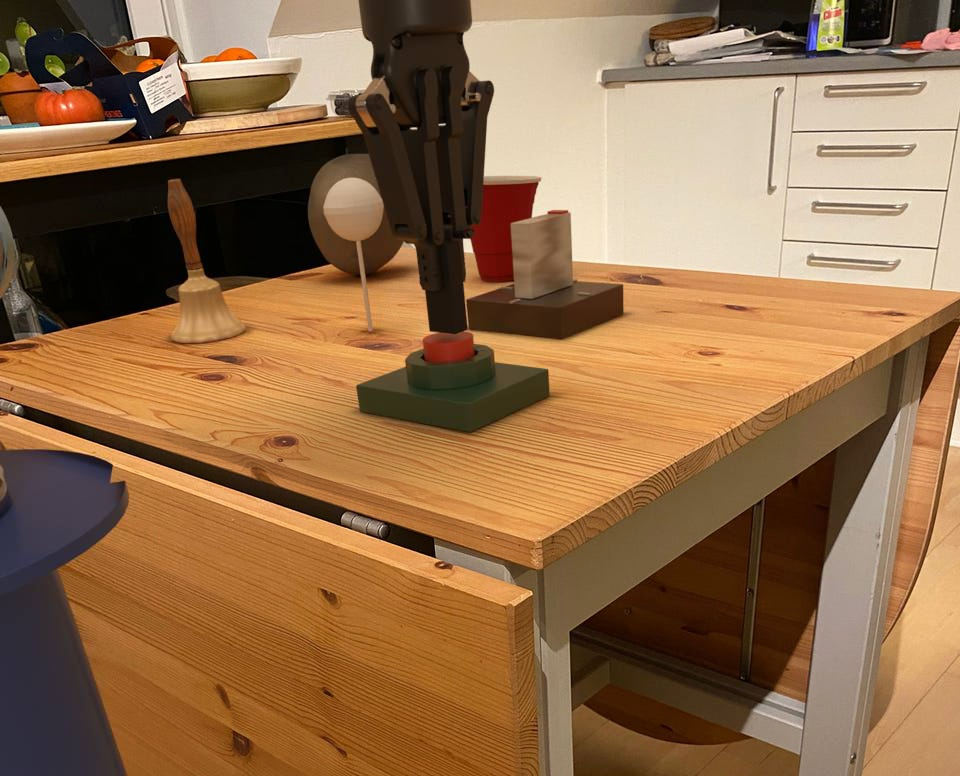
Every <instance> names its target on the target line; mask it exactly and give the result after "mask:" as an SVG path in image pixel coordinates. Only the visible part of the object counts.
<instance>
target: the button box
mask: <svg viewBox="0 0 960 776" xmlns="http://www.w3.org/2000/svg"><path fill="white" fill-rule="evenodd" d="M474 352H475V356H474V357H471V358H469V359H465V360H460V361H454V362H438V363H435V362H428V361H425V358H424V349H423V348H421V349H418V350H416V351H413V352H410V353H409V354H408V355H407V356H406V357H405V358H404V362H405V366H403V367H401V368H398V369H396V370H393V371H390V372H387V373H385V374H381V375H380V376H376V377H374V378H371V379H369V380H366V381H363V382H360V383H358V384H356V385H355V388H356V396H357V401H358V403H357V404H358V407H359V409H358V410H359V412H362V413H367V414H373V415H377V416H383V417H387V418H393V419H399V420H403V421H409V422H414V423H419V424H425V425H430V426H435V427H440V428H446V429H449V430H450V429H452V430H456V431H461V432H466V433H472V432H475V431H477V430H479V429H481V428H483V427H485V426H487V425H489V424H492V423H494V422H496V421H498V420H500V419H503V418H504V417H505V418H506V417H507V416H509V415H511V414H513V413H516V412H517V411H520V410H522V409H524V408H526V407H528V406H531V405H533V404H535V403H537V402H540V401H541V400H543V399H546V398H549V397H550V396H551V395H550V394H551V392H550V375H549V374H550V373H549V369H548V368H543V367H535V366H527V365H521V364H513V363H505V362H497V361H496V360H495V350H494V349H493V348H491V347H490V346H488V345H486V344H480V343H474Z"/></svg>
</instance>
